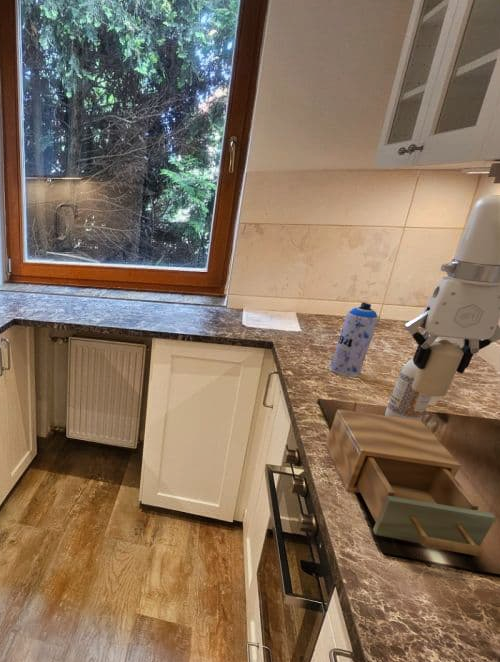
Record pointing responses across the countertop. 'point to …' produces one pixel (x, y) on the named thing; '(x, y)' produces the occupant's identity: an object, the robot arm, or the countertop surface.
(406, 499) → the drawer
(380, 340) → the countertop surface
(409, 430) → the cabinet
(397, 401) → the bath foam
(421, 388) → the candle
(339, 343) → the aerosol can
